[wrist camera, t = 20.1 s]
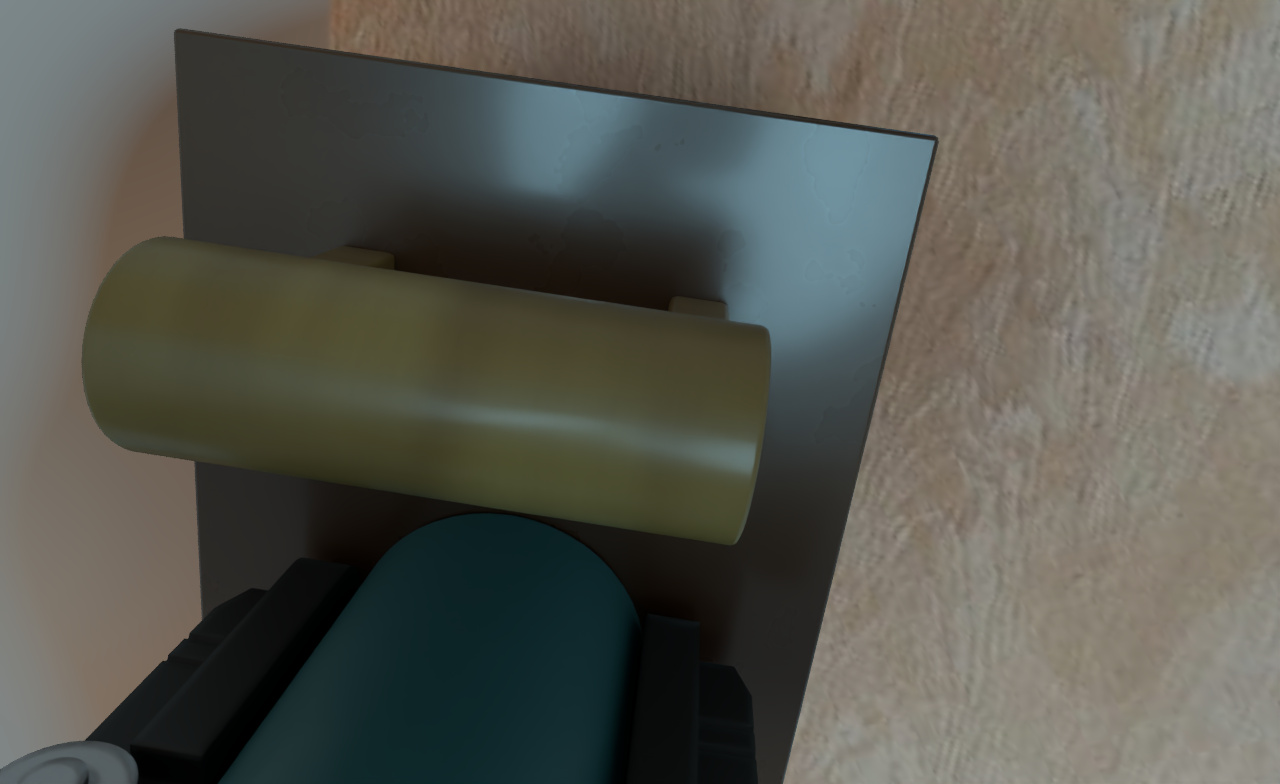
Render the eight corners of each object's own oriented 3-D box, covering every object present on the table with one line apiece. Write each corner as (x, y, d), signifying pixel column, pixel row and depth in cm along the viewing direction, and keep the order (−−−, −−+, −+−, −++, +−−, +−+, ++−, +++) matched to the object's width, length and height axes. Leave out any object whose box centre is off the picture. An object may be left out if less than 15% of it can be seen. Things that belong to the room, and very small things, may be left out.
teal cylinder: (460, 453, 11) (266, 727, 6) (702, 627, 11) (699, 1004, 7) (308, 652, 12) (45, 1012, 7) (534, 800, 12) (428, 1224, 8)
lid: (212, 33, 10) (-230, -33, 5) (923, 134, 10) (1123, 158, 5) (235, 759, 14) (-11, 1101, 9) (755, 846, 13) (781, 1247, 9)
